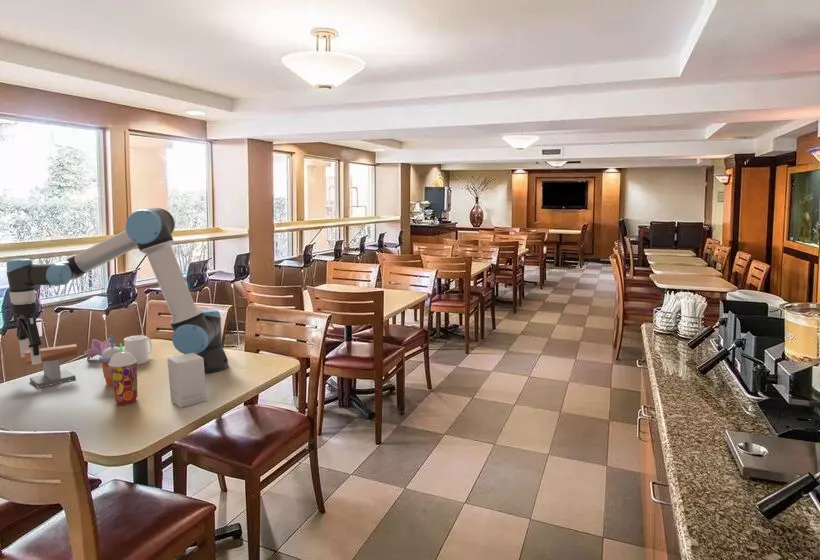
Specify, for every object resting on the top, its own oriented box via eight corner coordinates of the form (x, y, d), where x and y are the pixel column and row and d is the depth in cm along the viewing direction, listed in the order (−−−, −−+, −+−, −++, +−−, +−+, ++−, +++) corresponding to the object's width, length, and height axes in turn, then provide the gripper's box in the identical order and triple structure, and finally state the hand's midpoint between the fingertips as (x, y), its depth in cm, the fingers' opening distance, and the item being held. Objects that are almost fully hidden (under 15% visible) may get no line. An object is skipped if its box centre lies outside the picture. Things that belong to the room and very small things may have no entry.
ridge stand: (75, 379, 209) (73, 357, 208) (38, 387, 200) (35, 364, 199) (66, 373, 216) (64, 352, 214) (30, 381, 207) (27, 359, 206)
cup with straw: (122, 377, 210) (117, 331, 207) (135, 382, 205) (130, 334, 202) (97, 384, 203) (92, 336, 200) (109, 389, 198) (104, 340, 195)
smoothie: (121, 397, 190) (115, 340, 187) (145, 397, 190) (140, 340, 186) (107, 406, 182) (100, 347, 178) (132, 406, 181) (126, 346, 178)
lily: (122, 357, 240) (112, 337, 241) (118, 353, 230) (108, 332, 230) (92, 370, 235) (82, 350, 236) (87, 367, 224) (77, 345, 225)
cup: (121, 363, 227) (119, 339, 226) (144, 355, 239) (142, 332, 237) (137, 365, 225) (134, 341, 223) (159, 357, 236) (157, 334, 234)
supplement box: (207, 401, 185) (204, 357, 183) (180, 408, 180) (176, 363, 177) (197, 394, 192) (194, 351, 190) (170, 400, 186) (166, 357, 184)
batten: (77, 356, 209) (76, 346, 208) (26, 364, 200) (24, 353, 199) (77, 354, 212) (76, 343, 211) (26, 361, 203) (24, 350, 203)
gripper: (47, 305, 193) (54, 364, 197) (26, 296, 210) (33, 351, 213) (21, 308, 188) (29, 369, 191) (2, 299, 204) (9, 356, 208)
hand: (31, 360), depth 202 cm, fingers open, 13 cm apart
